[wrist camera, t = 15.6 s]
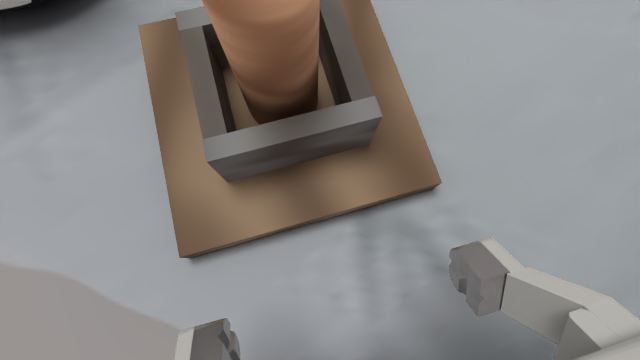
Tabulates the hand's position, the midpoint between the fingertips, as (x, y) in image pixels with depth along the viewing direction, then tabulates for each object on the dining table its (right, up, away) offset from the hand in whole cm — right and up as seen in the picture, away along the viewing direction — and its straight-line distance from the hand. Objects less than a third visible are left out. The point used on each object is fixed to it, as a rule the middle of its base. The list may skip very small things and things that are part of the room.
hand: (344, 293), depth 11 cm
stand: (-3, +9, +11) cm, 14 cm away
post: (-3, +9, +10) cm, 14 cm away
